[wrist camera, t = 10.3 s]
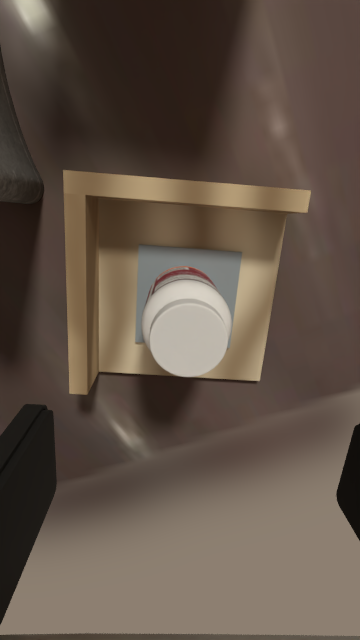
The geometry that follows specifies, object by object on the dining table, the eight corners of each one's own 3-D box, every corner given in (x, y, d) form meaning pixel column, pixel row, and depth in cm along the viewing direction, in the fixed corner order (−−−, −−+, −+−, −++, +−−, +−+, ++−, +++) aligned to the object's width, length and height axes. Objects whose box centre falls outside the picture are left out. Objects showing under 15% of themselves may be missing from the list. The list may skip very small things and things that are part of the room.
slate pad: (135, 340, 31) (135, 342, 31) (139, 244, 28) (138, 244, 28) (229, 346, 31) (229, 348, 31) (241, 251, 29) (242, 252, 28)
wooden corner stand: (85, 367, 33) (69, 393, 28) (82, 178, 27) (63, 170, 23) (258, 378, 33) (272, 405, 28) (287, 195, 28) (311, 190, 23)
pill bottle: (193, 342, 31) (203, 407, 20) (136, 309, 30) (115, 359, 19) (230, 287, 29) (261, 326, 19) (171, 250, 28) (170, 270, 18)
